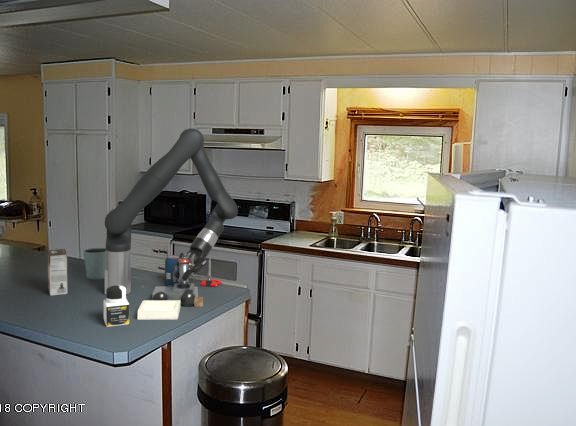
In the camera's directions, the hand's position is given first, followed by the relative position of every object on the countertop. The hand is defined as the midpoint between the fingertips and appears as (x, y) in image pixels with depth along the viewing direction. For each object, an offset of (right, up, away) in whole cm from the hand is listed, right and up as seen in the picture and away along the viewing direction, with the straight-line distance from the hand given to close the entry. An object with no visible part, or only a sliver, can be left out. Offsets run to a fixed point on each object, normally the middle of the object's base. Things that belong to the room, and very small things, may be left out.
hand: (179, 278), depth 184 cm
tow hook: (+8, -6, +27) cm, 29 cm away
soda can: (-8, -6, +24) cm, 26 cm away
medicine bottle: (-16, -12, -22) cm, 30 cm away
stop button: (+1, -5, +2) cm, 5 cm away
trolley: (-2, -9, +1) cm, 9 cm away
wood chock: (+8, -10, -3) cm, 13 cm away
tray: (-4, -11, -13) cm, 17 cm away
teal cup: (-43, -4, +30) cm, 52 cm away
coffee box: (-49, -6, +7) cm, 50 cm away
